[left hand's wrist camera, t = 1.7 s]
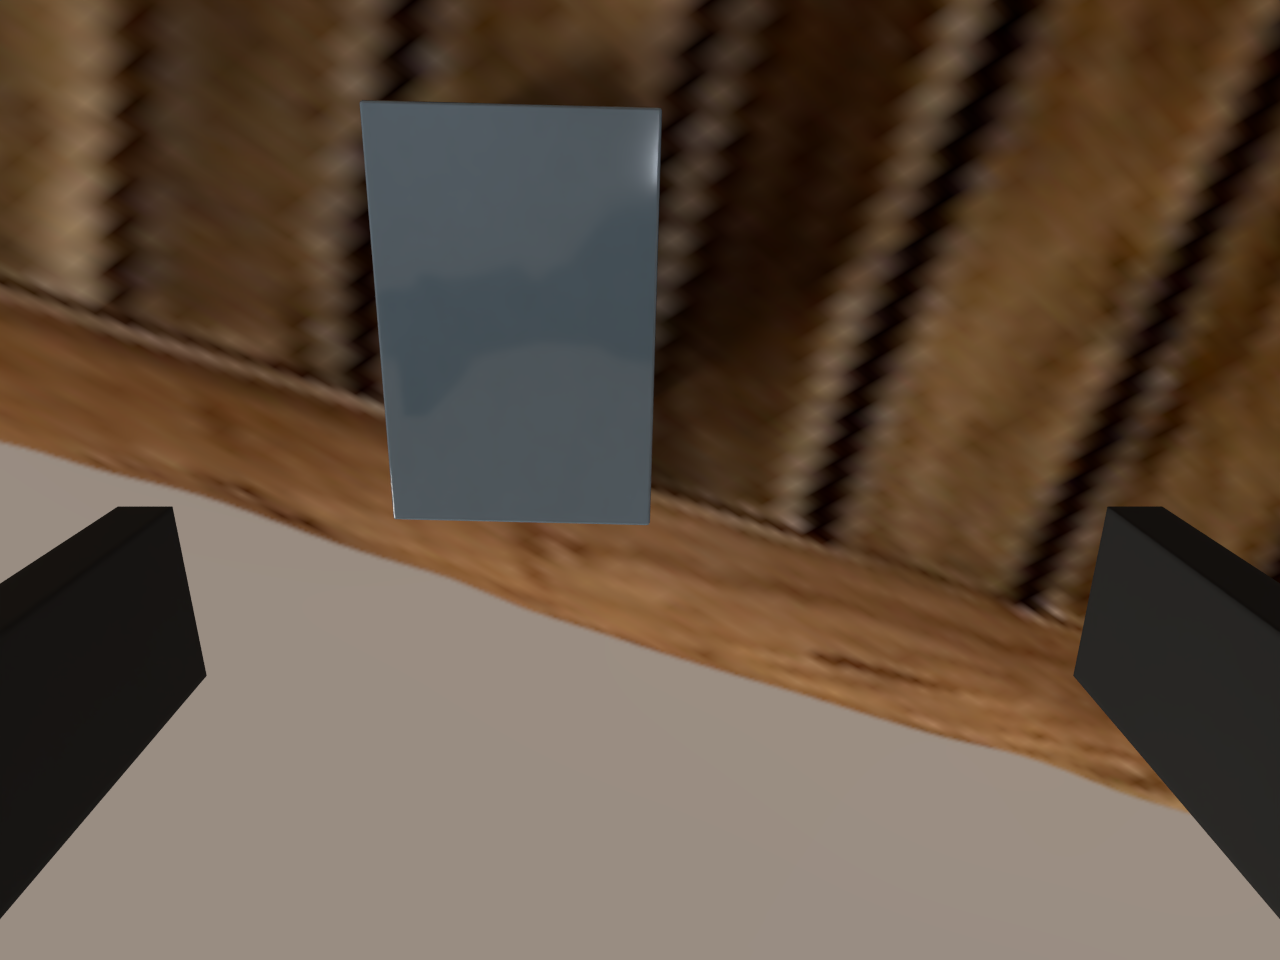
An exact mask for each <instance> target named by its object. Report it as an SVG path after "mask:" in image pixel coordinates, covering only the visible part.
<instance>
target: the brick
mask: <svg viewBox="0 0 1280 960" xmlns="http://www.w3.org/2000/svg"><path fill="white" fill-rule="evenodd" d="M360 113H361V126H362V138H363V150H364V162H365V174H366V186H367V198H368V211H369V223H370V235H371V247H372V259H373V271H374V283H375V296H376V308H377V320H378V332H379V344H380V356H381V369H382V381H383V393H384V405H385V417H386V429H387V441H388V454H389V466H390V478H391V490H392V502H393V514H394V518H395V519H416V520H458V521H500V522H543V523H585V524H628V525H649V523H650V500H651V467H652V433H653V399H654V366H655V332H656V298H657V265H658V231H659V197H660V164H661V130H662V110H661V108H655V107H615V106H576V105H536V104H496V103H456V102H416V101H377V100H362V101H360Z"/></svg>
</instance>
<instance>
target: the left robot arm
mask: <svg viewBox="0 0 1280 960" xmlns="http://www.w3.org/2000/svg"><path fill="white" fill-rule="evenodd" d="M1073 676H1074V677H1075V678H1076V679H1077V680H1078V682H1079V683H1080V684H1081V685H1082V686H1083V688H1084V689H1085V690H1086V691H1087V692H1088V693H1089V695H1090V696H1091V697H1092V698H1093V699H1094V700H1095V702H1096V703H1097V704H1098V705H1099V706H1100V708H1101V709H1102V710H1103V711H1104V712H1105V713H1106V715H1107V716H1108V717H1109V718H1110V719H1111V721H1112V722H1113V723H1114V724H1115V725H1116V726H1117V728H1118V729H1119V730H1120V731H1121V732H1122V733H1123V735H1124V736H1125V737H1126V738H1127V739H1128V741H1129V742H1130V743H1131V744H1132V745H1133V746H1134V748H1135V749H1136V750H1137V751H1138V752H1139V754H1140V755H1141V756H1142V757H1143V758H1144V759H1145V761H1146V762H1147V763H1148V764H1149V765H1150V766H1151V768H1152V769H1153V770H1154V771H1155V772H1156V774H1157V775H1158V776H1159V777H1160V778H1161V779H1162V781H1163V782H1164V783H1165V784H1166V785H1167V787H1168V788H1169V789H1170V790H1171V791H1172V792H1173V794H1174V795H1175V796H1176V797H1177V798H1178V799H1179V801H1180V802H1181V803H1182V804H1183V805H1184V807H1185V808H1186V809H1187V810H1188V811H1189V812H1190V814H1191V815H1192V816H1193V817H1194V818H1195V820H1196V821H1197V822H1198V823H1199V824H1200V825H1201V827H1202V828H1203V829H1204V830H1205V831H1206V832H1207V834H1208V835H1209V836H1210V837H1211V838H1212V840H1213V841H1214V842H1215V843H1216V844H1217V845H1218V847H1219V848H1220V849H1221V850H1222V851H1223V853H1224V854H1225V855H1226V856H1227V857H1228V858H1229V860H1230V861H1231V862H1232V863H1233V864H1234V865H1235V867H1236V868H1237V869H1238V870H1239V871H1240V873H1241V874H1242V875H1243V876H1244V877H1245V878H1246V880H1247V881H1248V882H1249V883H1250V884H1251V885H1252V887H1253V888H1254V889H1255V890H1256V891H1257V893H1258V894H1259V895H1260V896H1261V897H1262V898H1263V900H1264V901H1265V902H1266V903H1267V904H1268V905H1269V907H1270V908H1271V909H1272V910H1273V911H1274V913H1275V914H1276V915H1277V916H1278V917H1279V918H1280V583H1278V582H1277V581H1275V580H1273V579H1272V578H1270V577H1269V576H1267V575H1266V574H1264V573H1263V572H1261V571H1260V570H1258V569H1257V568H1255V567H1254V566H1252V565H1251V564H1249V563H1247V562H1246V561H1244V560H1243V559H1241V558H1240V557H1238V556H1237V555H1235V554H1234V553H1232V552H1231V551H1229V550H1228V549H1226V548H1225V547H1223V546H1222V545H1220V544H1218V543H1217V542H1215V541H1214V540H1212V539H1211V538H1209V537H1208V536H1206V535H1205V534H1203V533H1202V532H1200V531H1199V530H1197V529H1196V528H1194V527H1192V526H1191V525H1189V524H1188V523H1186V522H1185V521H1183V520H1182V519H1180V518H1179V517H1177V516H1176V515H1174V514H1173V513H1171V512H1170V511H1168V510H1167V509H1165V508H1163V507H1107V512H1106V517H1105V522H1104V527H1103V532H1102V537H1101V542H1100V547H1099V552H1098V557H1097V562H1096V567H1095V572H1094V576H1093V581H1092V586H1091V591H1090V596H1089V601H1088V606H1087V611H1086V616H1085V621H1084V626H1083V631H1082V636H1081V641H1080V646H1079V651H1078V656H1077V661H1076V666H1075V671H1074V675H1073ZM205 677H206V671H205V666H204V661H203V656H202V651H201V646H200V641H199V636H198V631H197V626H196V621H195V616H194V611H193V606H192V601H191V596H190V591H189V586H188V581H187V576H186V572H185V567H184V562H183V557H182V552H181V547H180V542H179V537H178V532H177V527H176V522H175V517H174V512H173V507H117V508H115V509H113V510H112V511H110V512H109V513H107V514H106V515H104V516H103V517H101V518H100V519H98V520H97V521H95V522H94V523H92V524H91V525H89V526H88V527H86V528H85V529H83V530H81V531H80V532H78V533H77V534H75V535H74V536H72V537H71V538H69V539H68V540H66V541H65V542H63V543H62V544H60V545H58V546H57V547H55V548H54V549H52V550H51V551H49V552H48V553H46V554H45V555H43V556H42V557H40V558H39V559H37V560H36V561H34V562H33V563H31V564H30V565H28V566H26V567H25V568H23V569H22V570H20V571H19V572H17V573H16V574H14V575H13V576H11V577H10V578H8V579H7V580H5V581H4V582H2V583H0V918H1V917H2V916H3V915H4V914H5V913H6V911H7V910H8V909H9V908H10V907H11V906H12V904H13V903H14V902H15V901H16V900H17V898H18V897H19V896H20V895H21V894H22V893H23V891H24V890H25V889H26V888H27V887H28V885H29V884H30V883H31V882H32V881H33V880H34V878H35V877H36V876H37V875H38V874H39V873H40V871H41V870H42V869H43V868H44V867H45V865H46V864H47V863H48V862H49V861H50V859H51V858H52V857H53V856H54V855H55V854H56V852H57V851H58V850H59V849H60V848H61V847H62V845H63V844H64V843H65V842H66V841H67V840H68V838H69V837H70V836H71V835H72V834H73V832H74V831H75V830H76V829H77V828H78V827H79V825H80V824H81V823H82V822H83V821H84V819H85V818H86V817H87V816H88V815H89V814H90V812H91V811H92V810H93V809H94V808H95V807H96V805H97V804H98V803H99V802H100V801H101V799H102V798H103V797H104V796H105V795H106V794H107V792H108V791H109V790H110V789H111V788H112V786H113V785H114V784H115V783H116V782H117V781H118V779H119V778H120V777H121V776H122V775H123V773H124V772H125V771H126V770H127V769H128V768H129V766H130V765H131V764H132V763H133V762H134V761H135V759H136V758H137V757H138V756H139V755H140V754H141V752H142V751H143V750H144V749H145V748H146V746H147V745H148V744H149V743H150V742H151V741H152V739H153V738H154V737H155V736H156V735H157V733H158V732H159V731H160V730H161V729H162V728H163V726H164V725H165V724H166V723H167V722H168V721H169V719H170V718H171V717H172V716H173V715H174V713H175V712H176V711H177V710H178V709H179V708H180V706H181V705H182V704H183V703H184V702H185V700H186V699H187V698H188V697H189V696H190V695H191V693H192V692H193V691H194V690H195V689H196V688H197V686H198V685H199V684H200V683H201V682H202V680H203V679H204V678H205Z"/></svg>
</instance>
